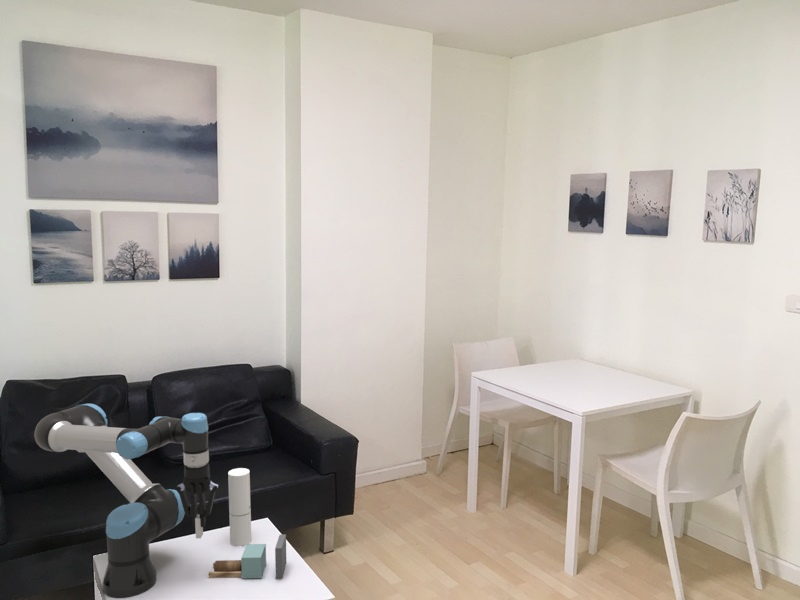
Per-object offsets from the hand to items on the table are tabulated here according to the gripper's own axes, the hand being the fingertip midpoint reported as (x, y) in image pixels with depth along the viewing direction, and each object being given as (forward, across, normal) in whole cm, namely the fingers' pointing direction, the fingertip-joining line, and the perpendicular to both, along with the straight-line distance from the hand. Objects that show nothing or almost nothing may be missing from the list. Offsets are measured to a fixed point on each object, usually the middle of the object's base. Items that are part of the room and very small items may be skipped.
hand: (199, 536), depth 202 cm
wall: (+12, +25, 0) cm, 28 cm away
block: (+12, +17, 0) cm, 21 cm away
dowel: (+12, +9, 0) cm, 15 cm away
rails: (+12, +8, 0) cm, 15 cm away
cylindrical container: (+12, +8, +20) cm, 25 cm away
